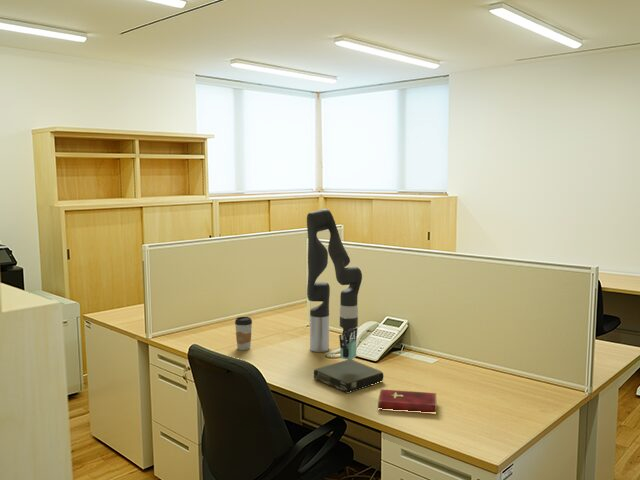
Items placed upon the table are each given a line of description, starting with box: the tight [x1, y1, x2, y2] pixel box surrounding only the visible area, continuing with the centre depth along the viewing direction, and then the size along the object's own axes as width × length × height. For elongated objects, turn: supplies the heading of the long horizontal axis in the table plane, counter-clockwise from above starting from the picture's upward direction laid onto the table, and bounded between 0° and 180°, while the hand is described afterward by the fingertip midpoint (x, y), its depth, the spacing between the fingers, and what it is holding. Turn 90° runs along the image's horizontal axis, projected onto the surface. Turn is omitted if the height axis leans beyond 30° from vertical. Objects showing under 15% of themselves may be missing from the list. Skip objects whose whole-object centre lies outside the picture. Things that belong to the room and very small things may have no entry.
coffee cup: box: [234, 316, 253, 351], centre depth 282 cm, size 8×8×15 cm
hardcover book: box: [377, 388, 438, 413], centre depth 214 cm, size 12×21×4 cm, turn 79°
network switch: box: [313, 359, 384, 393], centre depth 240 cm, size 23×23×5 cm
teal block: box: [339, 340, 357, 360], centre depth 239 cm, size 5×5×7 cm
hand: (348, 355), depth 239 cm, fingers closed on teal block, 5 cm apart
